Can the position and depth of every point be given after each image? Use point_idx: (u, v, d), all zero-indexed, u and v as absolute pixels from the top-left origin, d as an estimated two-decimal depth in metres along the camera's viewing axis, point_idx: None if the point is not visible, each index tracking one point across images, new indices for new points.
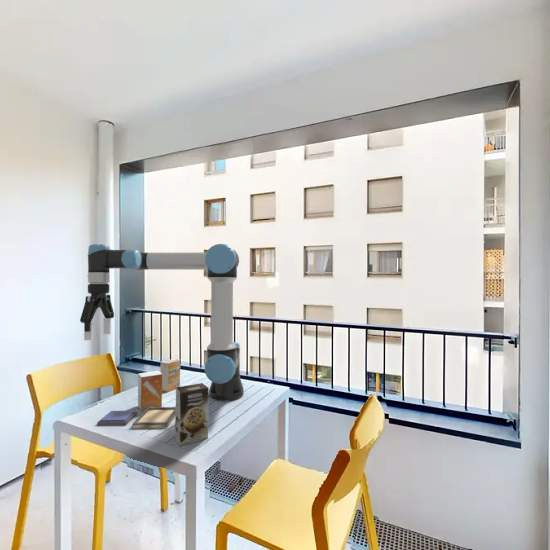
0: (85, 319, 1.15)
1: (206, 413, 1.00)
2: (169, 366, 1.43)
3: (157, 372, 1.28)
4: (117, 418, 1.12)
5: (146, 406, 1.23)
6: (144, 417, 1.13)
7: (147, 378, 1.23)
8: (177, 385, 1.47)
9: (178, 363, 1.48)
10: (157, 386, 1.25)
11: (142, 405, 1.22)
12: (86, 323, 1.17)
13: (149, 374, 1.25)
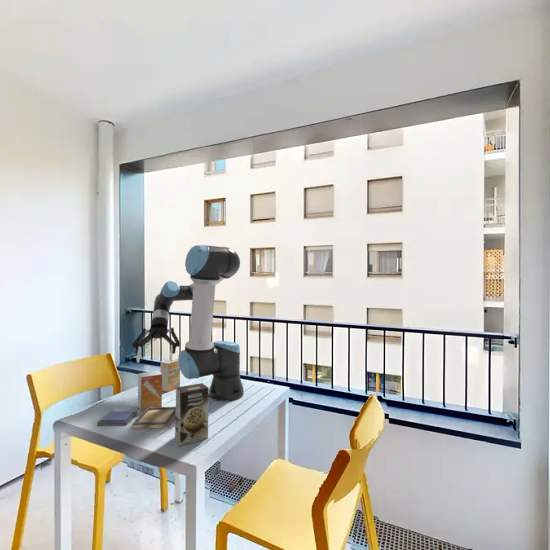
0: None
1: (206, 413, 1.00)
2: (169, 366, 1.43)
3: (157, 372, 1.28)
4: (117, 418, 1.12)
5: (146, 406, 1.23)
6: (144, 417, 1.13)
7: (147, 378, 1.23)
8: (177, 385, 1.47)
9: (178, 363, 1.48)
10: (157, 386, 1.25)
11: (142, 405, 1.22)
12: (136, 348, 1.39)
13: (149, 374, 1.25)
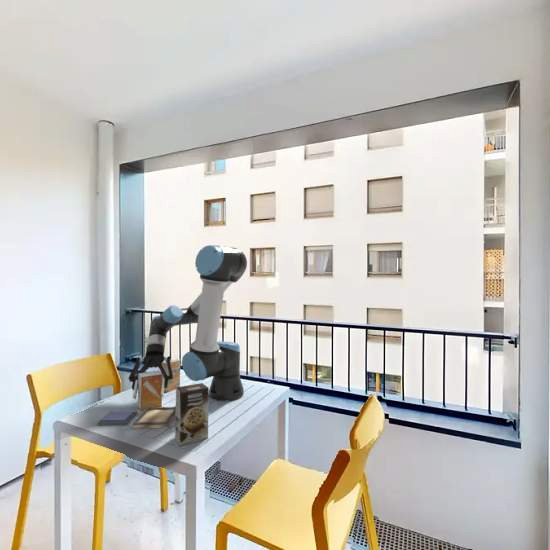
0: None
1: (206, 413, 1.00)
2: None
3: (157, 372, 1.28)
4: (117, 418, 1.12)
5: (146, 406, 1.23)
6: (144, 417, 1.13)
7: (147, 378, 1.23)
8: (177, 385, 1.47)
9: (178, 363, 1.48)
10: (157, 386, 1.25)
11: (142, 405, 1.22)
12: None
13: (149, 374, 1.25)
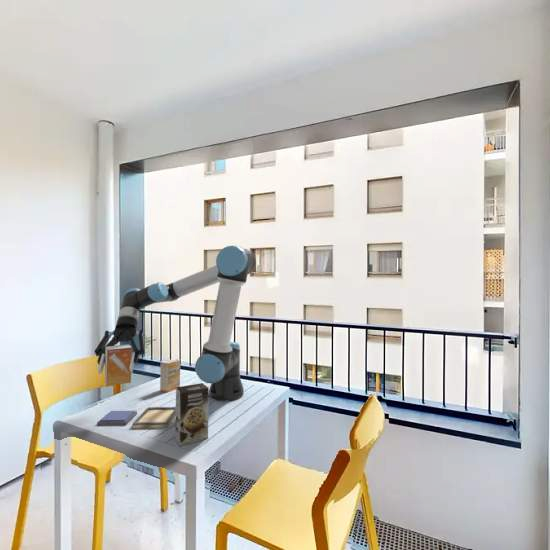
0: None
1: (206, 413, 1.00)
2: (169, 366, 1.43)
3: (126, 345, 1.16)
4: (117, 418, 1.12)
5: (112, 382, 1.11)
6: (144, 417, 1.13)
7: (113, 350, 1.11)
8: (177, 385, 1.47)
9: (178, 363, 1.48)
10: (125, 360, 1.13)
11: (108, 380, 1.10)
12: (99, 355, 1.15)
13: (117, 347, 1.14)
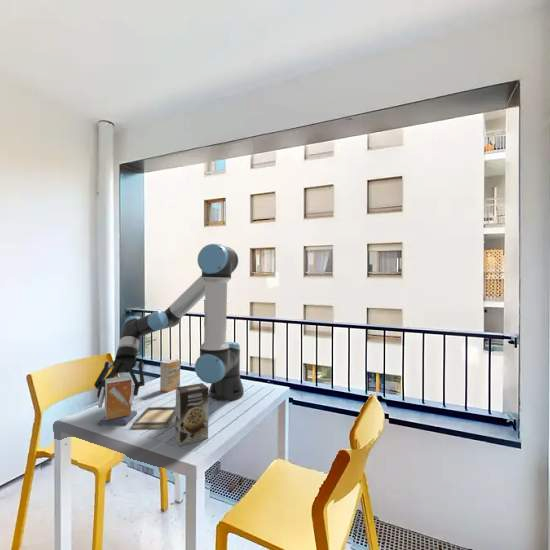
0: None
1: (206, 413, 1.00)
2: (169, 366, 1.43)
3: (126, 377, 1.16)
4: (117, 418, 1.12)
5: (112, 415, 1.11)
6: (144, 417, 1.13)
7: (113, 384, 1.11)
8: (177, 385, 1.47)
9: (178, 363, 1.48)
10: (125, 393, 1.13)
11: (108, 414, 1.10)
12: (98, 388, 1.14)
13: (117, 380, 1.13)
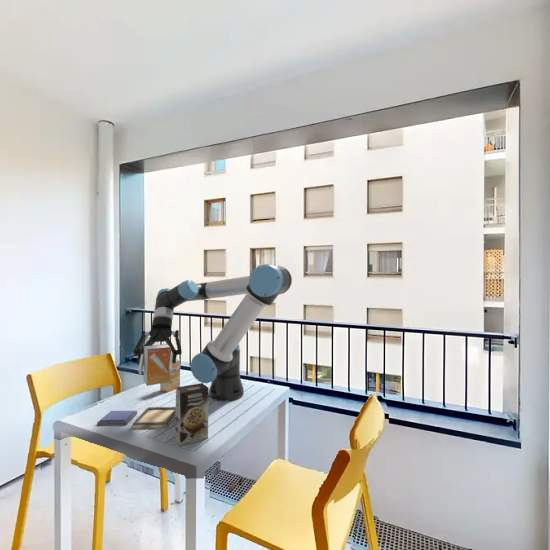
0: None
1: (206, 413, 1.00)
2: None
3: (164, 345, 1.17)
4: (117, 418, 1.12)
5: (152, 381, 1.11)
6: (144, 417, 1.13)
7: (153, 350, 1.12)
8: (177, 385, 1.47)
9: (178, 363, 1.48)
10: (164, 359, 1.14)
11: (148, 380, 1.11)
12: None
13: (156, 347, 1.14)
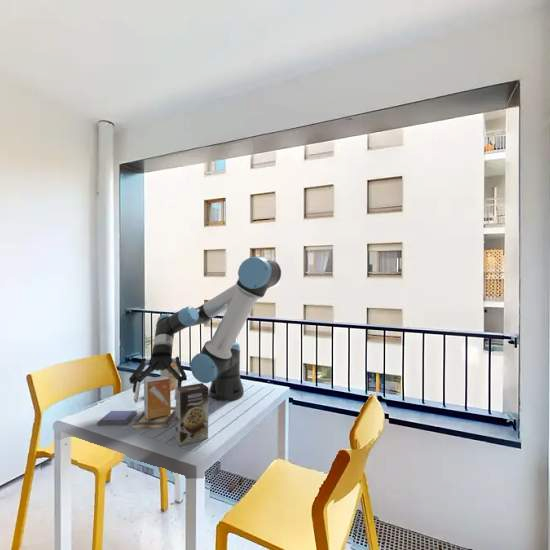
0: None
1: (206, 413, 1.00)
2: None
3: (164, 377, 1.17)
4: (117, 418, 1.12)
5: (153, 414, 1.11)
6: (144, 417, 1.13)
7: (153, 383, 1.12)
8: None
9: None
10: (164, 392, 1.14)
11: (149, 413, 1.11)
12: (133, 383, 1.15)
13: (156, 379, 1.15)
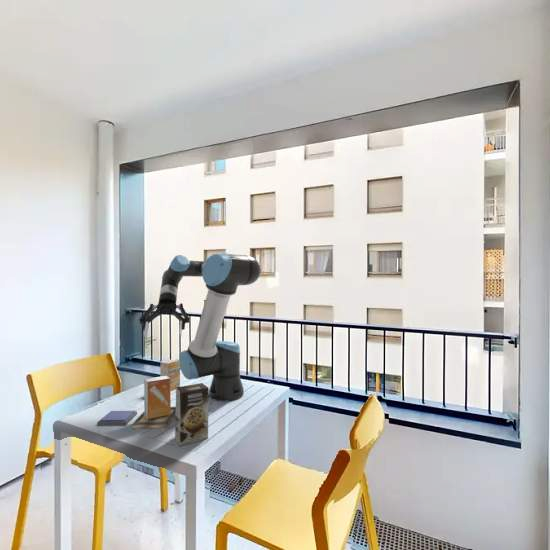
0: None
1: (206, 413, 1.00)
2: (169, 366, 1.43)
3: (164, 377, 1.18)
4: (117, 418, 1.12)
5: (153, 414, 1.11)
6: (144, 417, 1.13)
7: (153, 382, 1.12)
8: (177, 385, 1.47)
9: (178, 363, 1.48)
10: (164, 392, 1.14)
11: (149, 413, 1.11)
12: (143, 323, 1.31)
13: (156, 379, 1.15)
